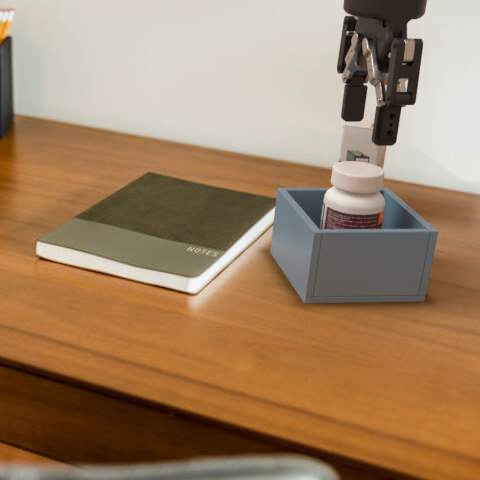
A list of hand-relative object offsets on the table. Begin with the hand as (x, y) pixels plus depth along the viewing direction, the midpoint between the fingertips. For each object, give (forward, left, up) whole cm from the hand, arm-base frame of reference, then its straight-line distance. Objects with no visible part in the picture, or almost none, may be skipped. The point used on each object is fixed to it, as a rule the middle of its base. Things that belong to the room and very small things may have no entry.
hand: (366, 132), depth 90 cm
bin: (0, 0, -16) cm, 16 cm away
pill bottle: (0, 0, -15) cm, 15 cm away
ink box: (-9, -20, -16) cm, 27 cm away
